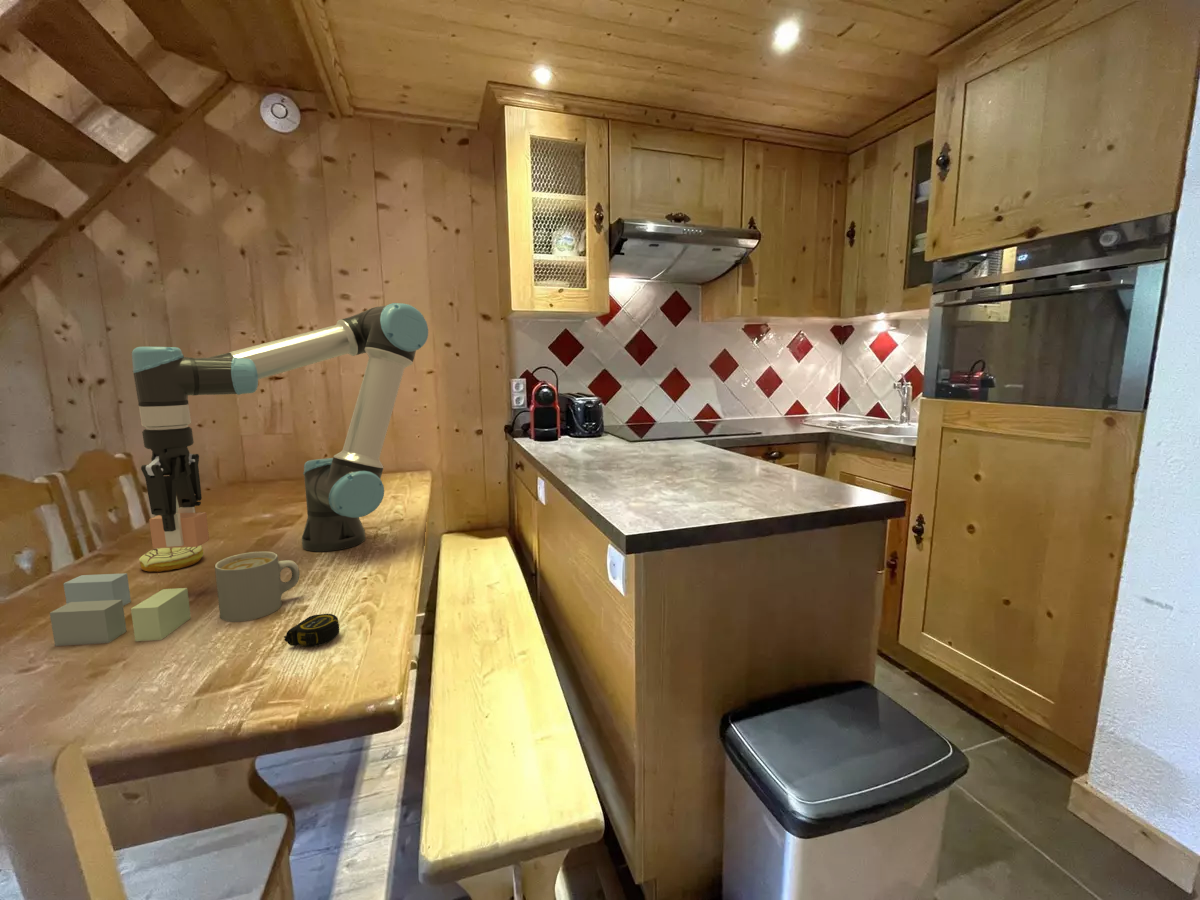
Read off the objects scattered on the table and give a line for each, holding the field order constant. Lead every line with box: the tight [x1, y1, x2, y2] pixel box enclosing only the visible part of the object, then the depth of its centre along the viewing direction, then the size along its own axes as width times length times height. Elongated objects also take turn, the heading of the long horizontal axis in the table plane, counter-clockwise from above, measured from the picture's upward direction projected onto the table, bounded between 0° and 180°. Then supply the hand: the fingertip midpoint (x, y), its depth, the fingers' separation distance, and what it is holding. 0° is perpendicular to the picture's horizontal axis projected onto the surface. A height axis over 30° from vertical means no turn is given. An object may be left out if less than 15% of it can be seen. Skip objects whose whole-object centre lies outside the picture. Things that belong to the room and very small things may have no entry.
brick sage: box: [130, 587, 192, 642], centre depth 92 cm, size 8×4×6 cm, turn 8°
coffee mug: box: [214, 550, 300, 623], centre depth 100 cm, size 13×10×10 cm
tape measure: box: [283, 613, 340, 648], centre depth 89 cm, size 7×7×4 cm
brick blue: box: [63, 573, 132, 607], centre depth 100 cm, size 8×4×6 cm, turn 98°
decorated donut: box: [138, 545, 204, 573], centre depth 123 cm, size 11×12×4 cm
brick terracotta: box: [149, 511, 210, 549], centre depth 104 cm, size 8×4×6 cm, turn 98°
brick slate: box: [49, 600, 127, 647], centre depth 88 cm, size 8×4×6 cm, turn 98°
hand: (182, 541), depth 105 cm, fingers closed on brick terracotta, 4 cm apart
